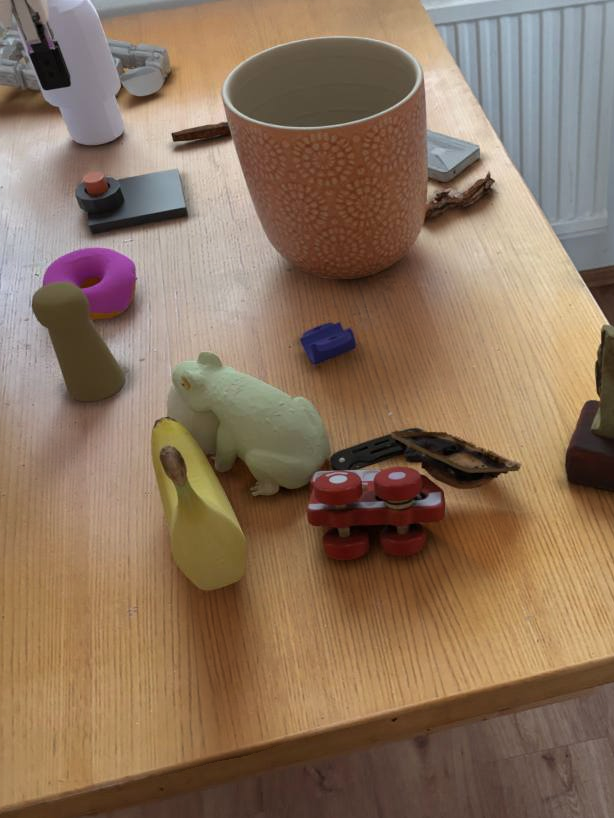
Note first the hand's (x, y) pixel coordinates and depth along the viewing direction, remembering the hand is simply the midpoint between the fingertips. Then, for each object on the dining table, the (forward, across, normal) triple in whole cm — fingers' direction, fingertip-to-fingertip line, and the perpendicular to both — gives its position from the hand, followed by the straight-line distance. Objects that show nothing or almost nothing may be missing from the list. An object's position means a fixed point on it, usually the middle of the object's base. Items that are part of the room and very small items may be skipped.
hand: (57, 84), depth 105 cm
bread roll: (+15, +61, +34) cm, 71 cm away
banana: (+15, +62, +6) cm, 64 cm away
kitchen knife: (+15, -16, +20) cm, 30 cm away
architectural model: (+11, -36, 0) cm, 38 cm away
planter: (+15, +20, +28) cm, 37 cm away
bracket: (+12, +38, +22) cm, 46 cm away
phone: (+14, +1, +41) cm, 43 cm away
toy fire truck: (+11, +68, +20) cm, 72 cm away
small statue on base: (+16, +64, +45) cm, 80 cm away
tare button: (+13, 0, 0) cm, 13 cm away
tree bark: (+16, +12, +42) cm, 46 cm away
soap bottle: (+15, -21, 0) cm, 26 cm away
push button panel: (+15, 0, +4) cm, 16 cm away
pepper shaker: (+15, +34, -3) cm, 38 cm away
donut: (+15, +20, -2) cm, 25 cm away
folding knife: (+14, +54, +23) cm, 60 cm away
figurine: (+15, +51, +11) cm, 54 cm away
